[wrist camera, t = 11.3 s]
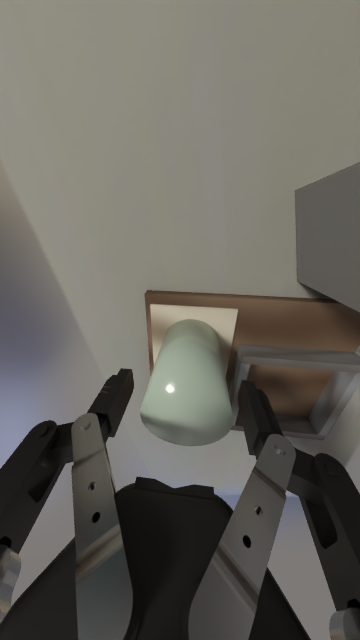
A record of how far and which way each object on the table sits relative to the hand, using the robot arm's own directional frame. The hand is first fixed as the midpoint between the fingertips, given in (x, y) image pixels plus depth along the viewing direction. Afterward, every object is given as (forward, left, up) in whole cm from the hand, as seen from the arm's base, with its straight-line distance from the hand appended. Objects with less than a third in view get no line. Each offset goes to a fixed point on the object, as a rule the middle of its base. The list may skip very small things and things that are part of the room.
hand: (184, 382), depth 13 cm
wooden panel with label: (+4, +6, -7) cm, 9 cm away
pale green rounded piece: (+1, 0, -5) cm, 5 cm away
